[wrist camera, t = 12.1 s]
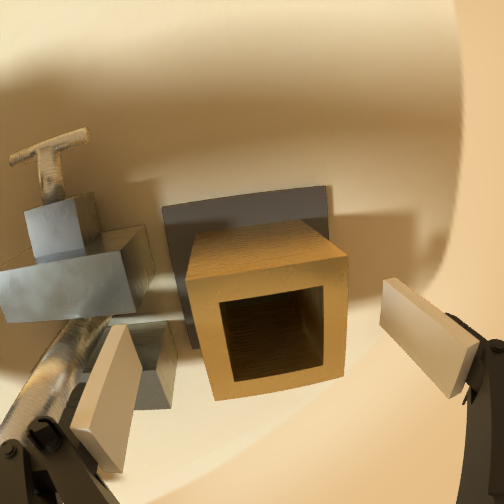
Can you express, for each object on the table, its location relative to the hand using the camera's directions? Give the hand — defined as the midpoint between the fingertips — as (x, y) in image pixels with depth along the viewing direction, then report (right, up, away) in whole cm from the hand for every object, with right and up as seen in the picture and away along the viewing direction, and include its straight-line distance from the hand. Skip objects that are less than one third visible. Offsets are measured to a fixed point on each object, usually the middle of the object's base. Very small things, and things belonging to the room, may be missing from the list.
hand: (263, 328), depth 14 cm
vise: (-13, +3, +6) cm, 14 cm away
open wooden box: (0, +2, +7) cm, 7 cm away
